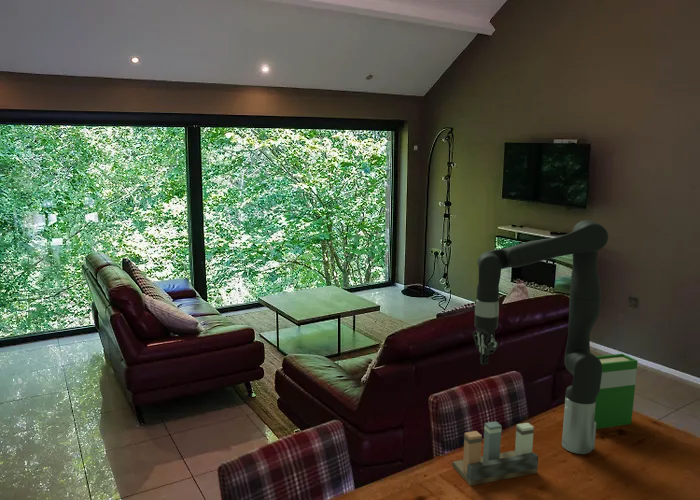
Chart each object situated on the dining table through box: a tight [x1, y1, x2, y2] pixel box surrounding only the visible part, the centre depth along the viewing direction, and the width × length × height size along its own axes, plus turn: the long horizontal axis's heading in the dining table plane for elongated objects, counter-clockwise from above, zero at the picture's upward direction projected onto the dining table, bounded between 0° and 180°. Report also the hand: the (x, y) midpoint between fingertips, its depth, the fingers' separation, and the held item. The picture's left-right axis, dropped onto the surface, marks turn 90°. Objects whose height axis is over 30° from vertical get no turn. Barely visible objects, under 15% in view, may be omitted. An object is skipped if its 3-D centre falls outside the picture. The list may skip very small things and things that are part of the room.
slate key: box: [482, 421, 503, 461], centre depth 172 cm, size 4×3×12 cm
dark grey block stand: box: [451, 450, 539, 487], centre depth 170 cm, size 23×11×6 cm, turn 108°
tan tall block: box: [462, 430, 483, 474], centre depth 165 cm, size 4×3×12 cm
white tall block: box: [514, 422, 535, 456], centre depth 171 cm, size 4×3×12 cm
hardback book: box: [594, 353, 639, 430], centre depth 200 cm, size 18×7×24 cm, turn 106°
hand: (484, 363), depth 185 cm, fingers closed
